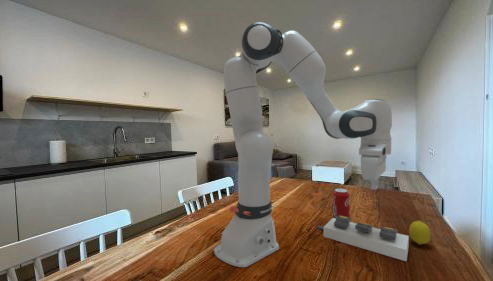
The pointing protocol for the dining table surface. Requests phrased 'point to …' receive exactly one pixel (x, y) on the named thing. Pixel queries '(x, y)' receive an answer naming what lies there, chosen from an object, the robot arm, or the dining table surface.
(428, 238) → the lemon
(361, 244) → the rocker switch panel
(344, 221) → the rocker
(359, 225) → the rocker
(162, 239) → the dining table surface
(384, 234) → the rocker
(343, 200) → the beverage can
